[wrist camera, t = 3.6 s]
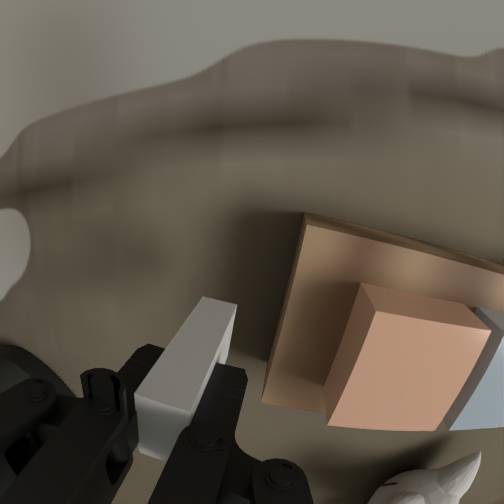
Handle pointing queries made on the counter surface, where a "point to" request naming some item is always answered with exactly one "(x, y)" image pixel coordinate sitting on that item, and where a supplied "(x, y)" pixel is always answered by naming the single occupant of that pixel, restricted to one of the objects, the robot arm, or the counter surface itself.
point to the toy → (429, 484)
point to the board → (345, 291)
